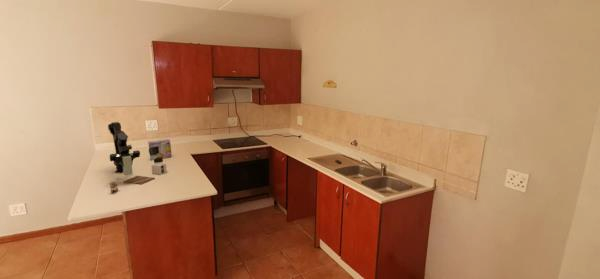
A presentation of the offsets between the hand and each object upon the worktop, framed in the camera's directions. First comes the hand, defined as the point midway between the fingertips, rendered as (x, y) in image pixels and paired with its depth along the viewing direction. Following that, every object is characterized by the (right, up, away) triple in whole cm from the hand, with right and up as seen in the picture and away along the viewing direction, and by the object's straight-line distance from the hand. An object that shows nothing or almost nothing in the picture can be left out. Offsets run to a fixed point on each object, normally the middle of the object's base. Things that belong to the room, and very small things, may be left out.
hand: (127, 165), depth 209 cm
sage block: (-1, -6, +2) cm, 7 cm away
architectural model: (-2, -17, -12) cm, 21 cm away
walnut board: (+4, -12, +9) cm, 15 cm away
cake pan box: (-8, +1, +67) cm, 68 cm away
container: (+10, -8, +26) cm, 30 cm away
